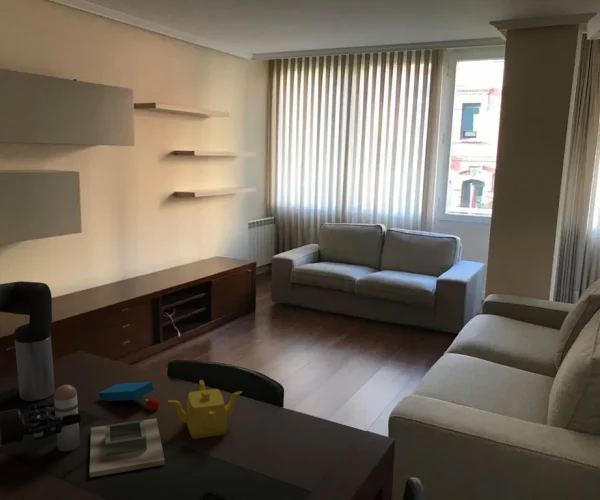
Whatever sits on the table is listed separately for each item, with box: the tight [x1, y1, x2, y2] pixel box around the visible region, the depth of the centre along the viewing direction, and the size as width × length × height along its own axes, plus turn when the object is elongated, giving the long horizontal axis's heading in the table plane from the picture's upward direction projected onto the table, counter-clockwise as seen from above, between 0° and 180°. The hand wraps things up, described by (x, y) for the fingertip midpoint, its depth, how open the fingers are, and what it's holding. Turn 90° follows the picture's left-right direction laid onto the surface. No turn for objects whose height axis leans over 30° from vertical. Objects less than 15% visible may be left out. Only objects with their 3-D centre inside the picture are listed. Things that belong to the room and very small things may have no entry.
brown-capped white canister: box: [53, 384, 81, 452], centre depth 130 cm, size 5×5×16 cm
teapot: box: [167, 379, 243, 440], centre depth 141 cm, size 15×14×10 cm
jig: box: [89, 417, 166, 478], centre depth 131 cm, size 20×16×4 cm
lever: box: [98, 381, 160, 412], centre depth 154 cm, size 7×7×18 cm
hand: (78, 412), depth 131 cm, fingers closed on brown-capped white canister, 5 cm apart
